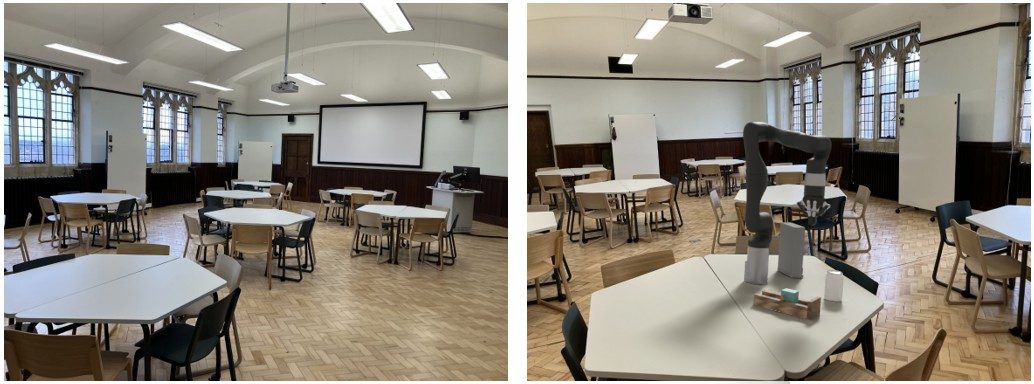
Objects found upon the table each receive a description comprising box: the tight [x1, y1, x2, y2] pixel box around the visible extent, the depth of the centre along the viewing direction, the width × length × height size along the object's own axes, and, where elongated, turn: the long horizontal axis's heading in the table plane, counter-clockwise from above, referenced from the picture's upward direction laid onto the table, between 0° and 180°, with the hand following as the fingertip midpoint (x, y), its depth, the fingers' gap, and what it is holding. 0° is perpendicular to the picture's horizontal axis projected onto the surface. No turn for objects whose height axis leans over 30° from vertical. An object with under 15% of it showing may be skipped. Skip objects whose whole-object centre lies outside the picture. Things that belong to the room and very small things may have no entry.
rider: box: [780, 287, 800, 304], centre depth 206 cm, size 5×4×5 cm
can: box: [823, 269, 845, 303], centre depth 219 cm, size 6×6×12 cm
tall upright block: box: [776, 221, 806, 279], centre depth 257 cm, size 14×6×25 cm, turn 179°
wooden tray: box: [752, 289, 822, 321], centre depth 208 cm, size 22×9×7 cm, turn 39°
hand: (812, 225), depth 217 cm, fingers closed
